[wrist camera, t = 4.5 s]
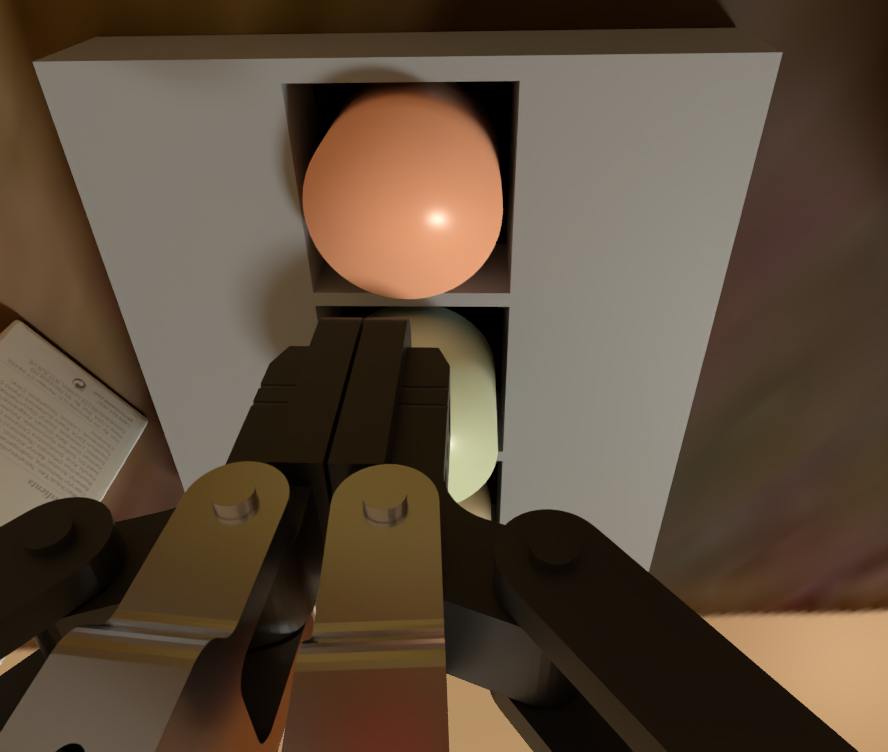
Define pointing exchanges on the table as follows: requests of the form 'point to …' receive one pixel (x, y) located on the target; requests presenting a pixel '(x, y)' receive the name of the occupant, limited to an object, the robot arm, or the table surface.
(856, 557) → the table surface
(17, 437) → the small box
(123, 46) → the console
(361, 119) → the button terracotta
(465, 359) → the button sage
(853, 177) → the table surface
